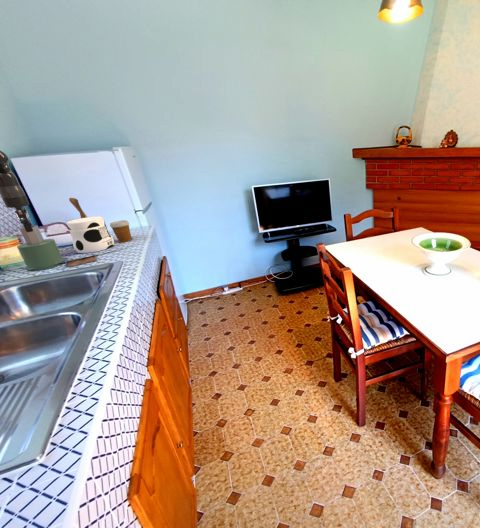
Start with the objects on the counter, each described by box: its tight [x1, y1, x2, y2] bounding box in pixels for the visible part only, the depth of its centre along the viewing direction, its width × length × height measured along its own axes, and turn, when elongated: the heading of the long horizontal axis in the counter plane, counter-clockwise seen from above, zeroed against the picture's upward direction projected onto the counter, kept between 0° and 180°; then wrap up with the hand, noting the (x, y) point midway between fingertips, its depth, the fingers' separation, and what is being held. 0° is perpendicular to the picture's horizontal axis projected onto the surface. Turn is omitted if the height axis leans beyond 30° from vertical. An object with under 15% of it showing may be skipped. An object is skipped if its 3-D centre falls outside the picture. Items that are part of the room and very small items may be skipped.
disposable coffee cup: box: [109, 219, 133, 244], centre depth 182 cm, size 10×10×12 cm
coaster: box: [66, 255, 98, 268], centre depth 152 cm, size 11×11×1 cm
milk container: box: [66, 216, 115, 255], centre depth 164 cm, size 17×17×18 cm
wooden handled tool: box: [68, 197, 88, 219], centre depth 179 cm, size 7×19×28 cm, turn 44°
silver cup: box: [19, 224, 45, 245], centre depth 143 cm, size 6×6×8 cm
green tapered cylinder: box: [16, 238, 66, 272], centre depth 146 cm, size 14×14×12 cm
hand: (30, 230), depth 142 cm, fingers open, 8 cm apart
